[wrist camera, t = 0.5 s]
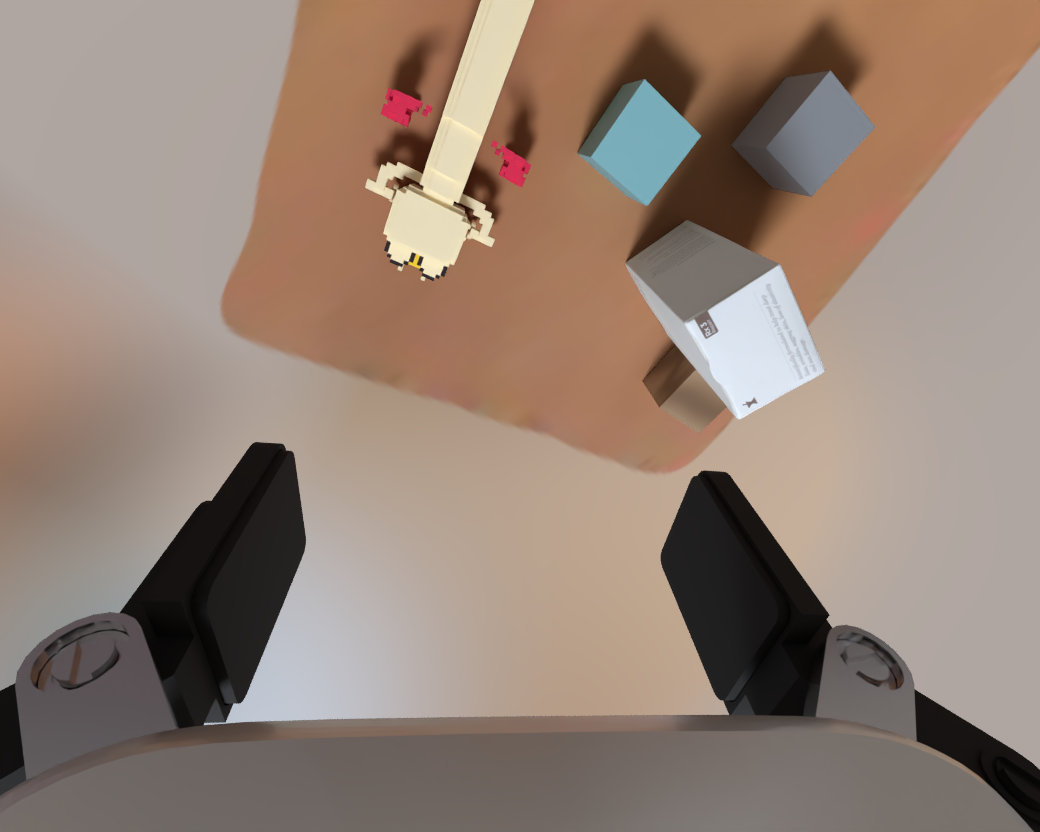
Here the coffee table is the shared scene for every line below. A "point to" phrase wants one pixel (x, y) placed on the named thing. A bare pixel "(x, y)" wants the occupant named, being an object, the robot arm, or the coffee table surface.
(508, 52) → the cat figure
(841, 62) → the coffee table surface
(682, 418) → the walnut block
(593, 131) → the teal block
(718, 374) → the skincare box
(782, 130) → the charcoal block
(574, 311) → the coffee table surface
